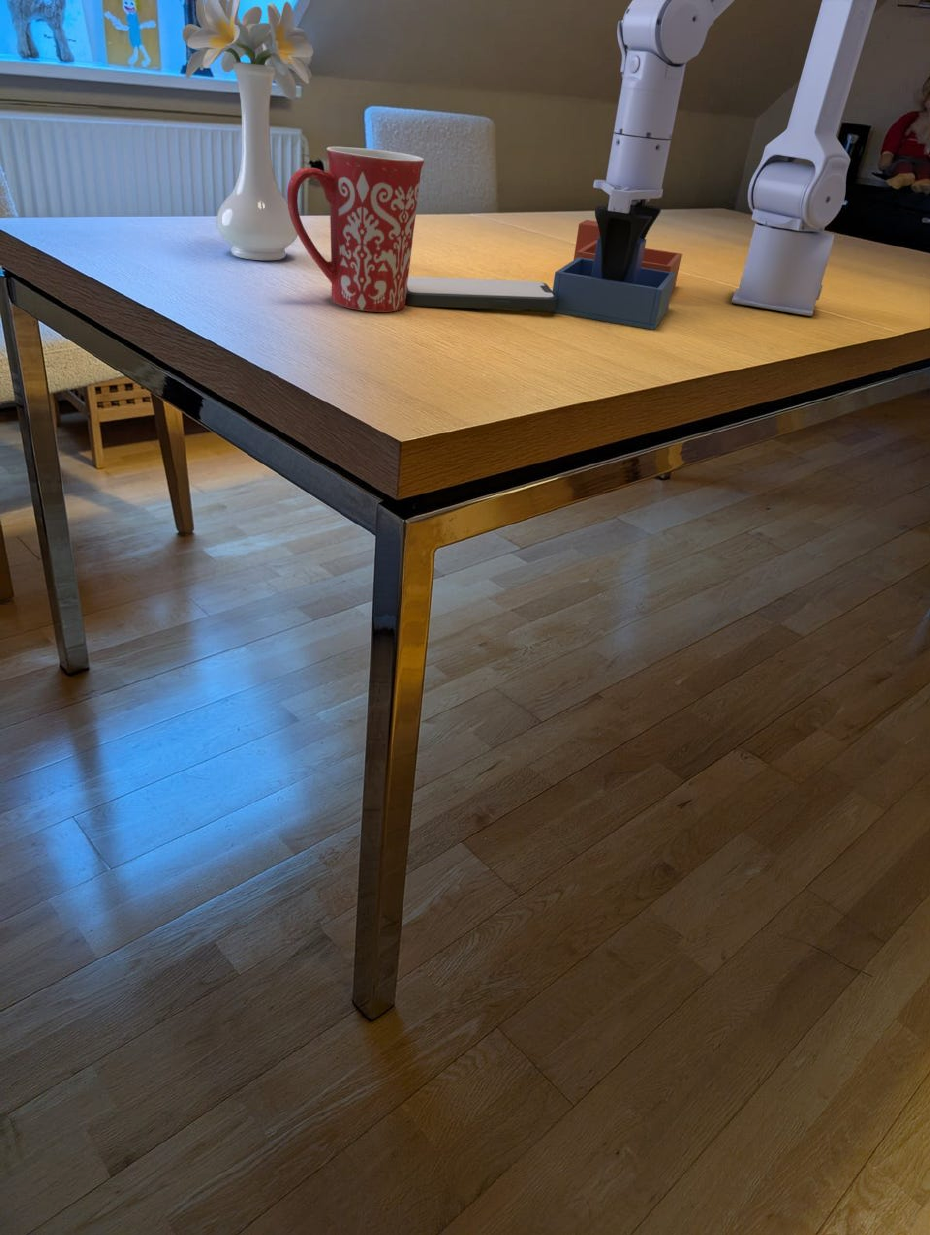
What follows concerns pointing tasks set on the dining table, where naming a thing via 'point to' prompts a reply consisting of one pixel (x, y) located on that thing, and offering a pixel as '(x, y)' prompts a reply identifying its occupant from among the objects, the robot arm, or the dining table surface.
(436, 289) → the phone case
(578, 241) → the terracotta block
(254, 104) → the flower vase
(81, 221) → the dining table surface
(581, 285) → the blue bin
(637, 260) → the blue block
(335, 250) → the mug
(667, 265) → the terracotta bin
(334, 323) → the dining table surface
